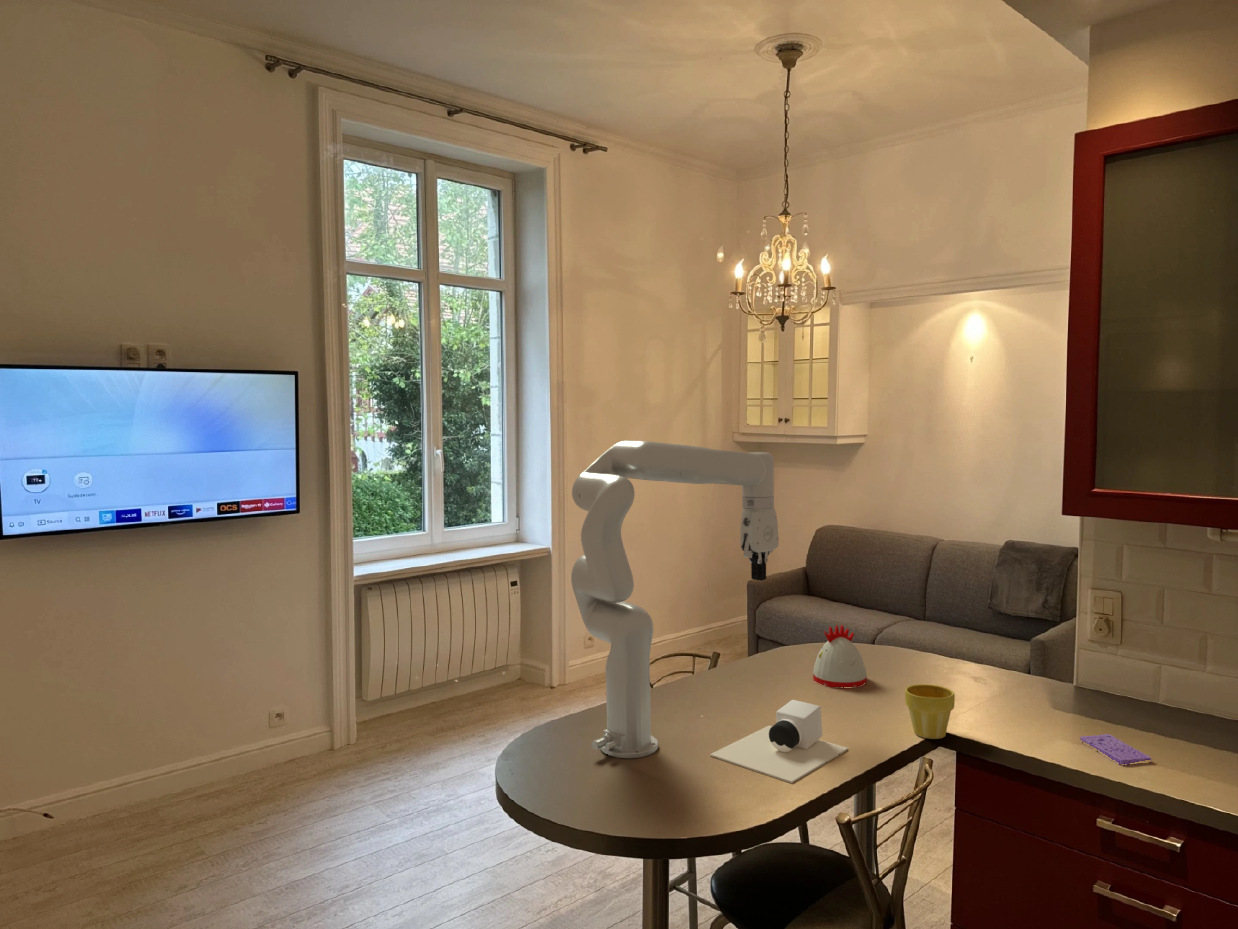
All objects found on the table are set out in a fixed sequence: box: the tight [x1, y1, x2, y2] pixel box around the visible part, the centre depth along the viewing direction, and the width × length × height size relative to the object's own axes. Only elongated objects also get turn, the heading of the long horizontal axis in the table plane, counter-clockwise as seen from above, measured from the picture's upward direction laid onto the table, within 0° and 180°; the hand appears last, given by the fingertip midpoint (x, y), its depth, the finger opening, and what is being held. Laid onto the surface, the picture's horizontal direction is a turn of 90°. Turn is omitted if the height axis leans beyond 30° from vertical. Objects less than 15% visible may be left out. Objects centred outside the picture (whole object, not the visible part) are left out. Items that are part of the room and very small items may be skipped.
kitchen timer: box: [812, 624, 868, 689], centre depth 227 cm, size 14×14×15 cm
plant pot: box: [904, 683, 956, 740], centre depth 188 cm, size 10×10×10 cm
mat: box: [709, 725, 849, 784], centre depth 180 cm, size 22×20×1 cm
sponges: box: [1079, 733, 1152, 765], centre depth 177 cm, size 7×13×2 cm, turn 8°
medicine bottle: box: [769, 699, 823, 752], centre depth 182 cm, size 7×7×12 cm
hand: (758, 579), depth 204 cm, fingers closed
